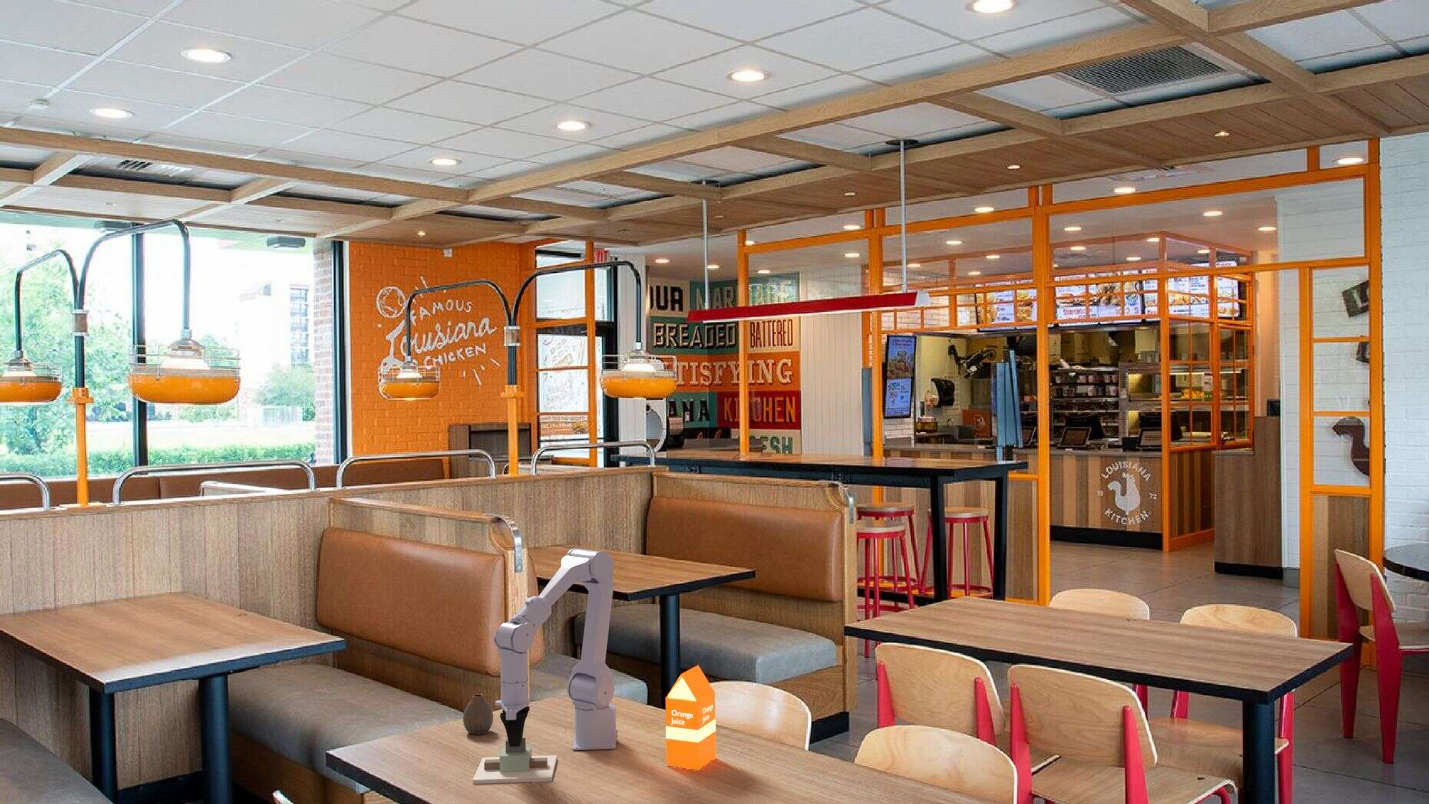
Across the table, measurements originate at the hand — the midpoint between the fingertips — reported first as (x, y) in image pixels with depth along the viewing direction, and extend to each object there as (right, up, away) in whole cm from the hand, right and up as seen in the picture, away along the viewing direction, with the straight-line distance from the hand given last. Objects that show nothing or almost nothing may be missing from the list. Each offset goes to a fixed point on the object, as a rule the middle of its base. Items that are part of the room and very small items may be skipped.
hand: (515, 744), depth 242 cm
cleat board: (0, -6, 0) cm, 6 cm away
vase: (-13, -6, +27) cm, 31 cm away
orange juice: (+37, -5, +4) cm, 38 cm away
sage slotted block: (0, -5, 0) cm, 5 cm away
